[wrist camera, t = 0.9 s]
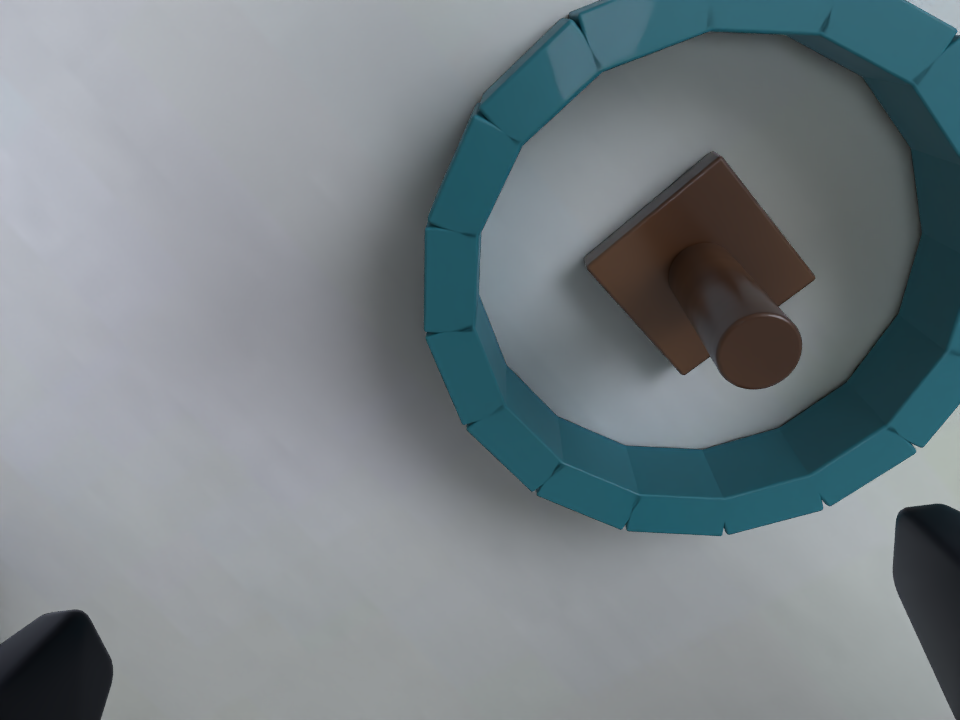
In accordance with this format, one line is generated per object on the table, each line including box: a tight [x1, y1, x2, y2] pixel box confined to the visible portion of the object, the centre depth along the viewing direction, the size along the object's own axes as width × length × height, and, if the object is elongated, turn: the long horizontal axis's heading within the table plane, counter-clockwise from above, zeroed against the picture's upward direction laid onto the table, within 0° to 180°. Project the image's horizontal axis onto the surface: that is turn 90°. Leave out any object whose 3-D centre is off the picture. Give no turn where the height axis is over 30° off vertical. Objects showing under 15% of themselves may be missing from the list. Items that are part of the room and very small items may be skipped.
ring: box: [424, 0, 960, 536], centre depth 18 cm, size 13×13×2 cm
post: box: [584, 151, 815, 389], centre depth 17 cm, size 4×4×6 cm
